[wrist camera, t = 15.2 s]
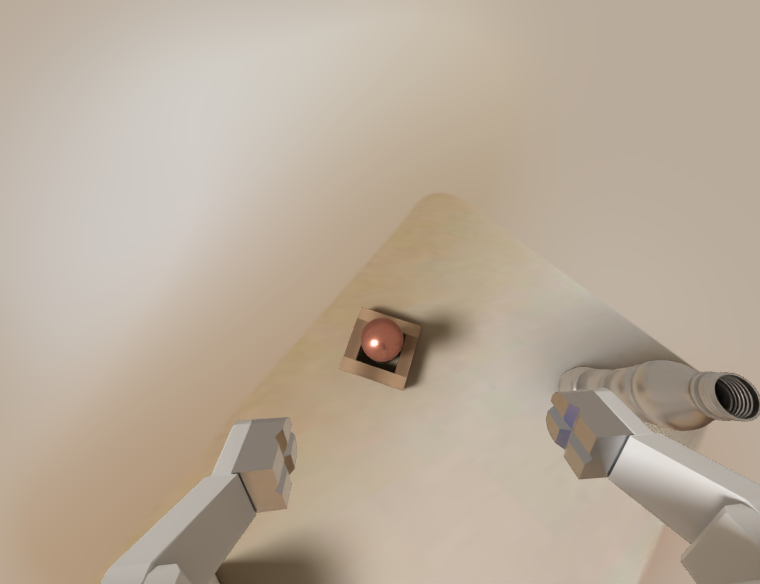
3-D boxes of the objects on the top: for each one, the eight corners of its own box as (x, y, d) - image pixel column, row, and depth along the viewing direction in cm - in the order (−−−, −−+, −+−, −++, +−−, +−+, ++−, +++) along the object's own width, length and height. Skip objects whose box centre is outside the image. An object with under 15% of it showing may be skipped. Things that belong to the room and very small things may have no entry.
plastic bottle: (588, 426, 41) (771, 463, 22) (543, 396, 42) (681, 405, 23) (606, 387, 42) (793, 388, 23) (563, 358, 44) (707, 337, 25)
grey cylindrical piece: (401, 339, 44) (408, 325, 34) (391, 370, 43) (396, 367, 32) (370, 328, 45) (368, 312, 34) (360, 359, 43) (354, 352, 33)
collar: (418, 330, 45) (421, 326, 42) (401, 390, 42) (403, 390, 39) (362, 311, 46) (361, 306, 43) (341, 369, 43) (339, 368, 40)
